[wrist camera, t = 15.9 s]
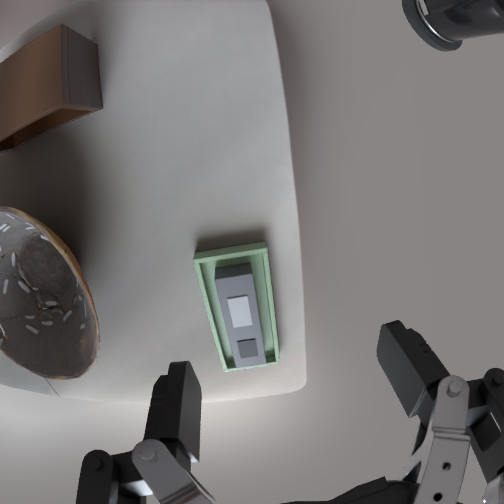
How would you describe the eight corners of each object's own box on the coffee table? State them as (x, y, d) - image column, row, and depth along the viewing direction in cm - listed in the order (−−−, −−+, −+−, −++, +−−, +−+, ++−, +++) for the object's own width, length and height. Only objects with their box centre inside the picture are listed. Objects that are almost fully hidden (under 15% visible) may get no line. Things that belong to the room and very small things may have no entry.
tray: (194, 252, 34) (193, 259, 32) (264, 241, 34) (267, 247, 32) (223, 362, 41) (224, 372, 40) (278, 354, 42) (280, 363, 40)
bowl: (60, 354, 39) (40, 393, 30) (-21, 246, 29) (-56, 272, 20) (159, 302, 36) (143, 352, 27) (56, 148, 26) (7, 159, 17)
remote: (214, 267, 34) (214, 280, 31) (250, 261, 34) (252, 273, 31) (235, 354, 40) (236, 369, 37) (264, 349, 40) (266, 364, 37)
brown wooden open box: (97, 44, 22) (62, 23, 13) (103, 108, 25) (64, 103, 17) (6, 93, 21) (-35, 93, 13) (11, 150, 25) (-31, 161, 17)
